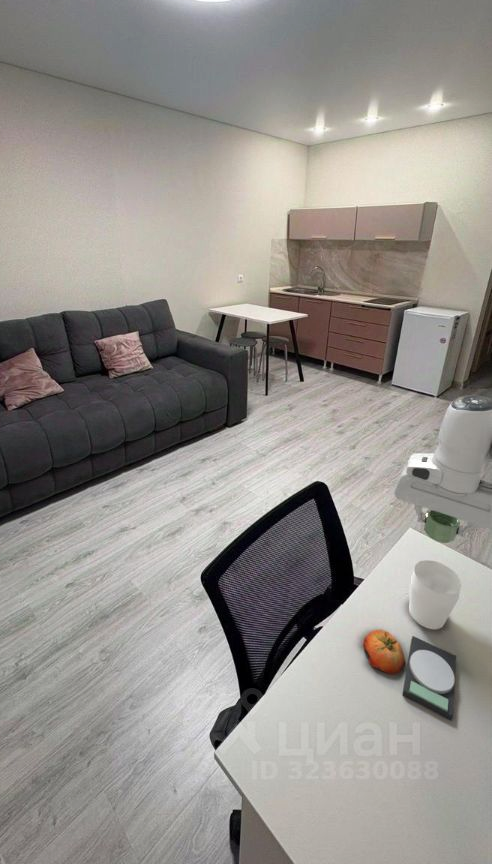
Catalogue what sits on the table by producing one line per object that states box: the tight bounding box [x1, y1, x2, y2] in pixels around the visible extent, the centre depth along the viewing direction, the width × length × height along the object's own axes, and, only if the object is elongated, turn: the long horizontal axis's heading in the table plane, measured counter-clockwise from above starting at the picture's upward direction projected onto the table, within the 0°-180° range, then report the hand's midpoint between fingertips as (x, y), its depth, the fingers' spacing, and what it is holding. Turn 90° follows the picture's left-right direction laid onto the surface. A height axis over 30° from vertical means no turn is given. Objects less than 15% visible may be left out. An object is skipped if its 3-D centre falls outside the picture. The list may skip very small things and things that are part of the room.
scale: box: [401, 635, 457, 722], centre depth 75 cm, size 12×8×3 cm, turn 149°
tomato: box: [362, 629, 406, 675], centre depth 79 cm, size 8×7×7 cm
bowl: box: [422, 509, 461, 544], centre depth 86 cm, size 6×6×4 cm
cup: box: [408, 559, 462, 630], centre depth 85 cm, size 9×9×12 cm
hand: (440, 527), depth 86 cm, fingers closed on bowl, 6 cm apart
